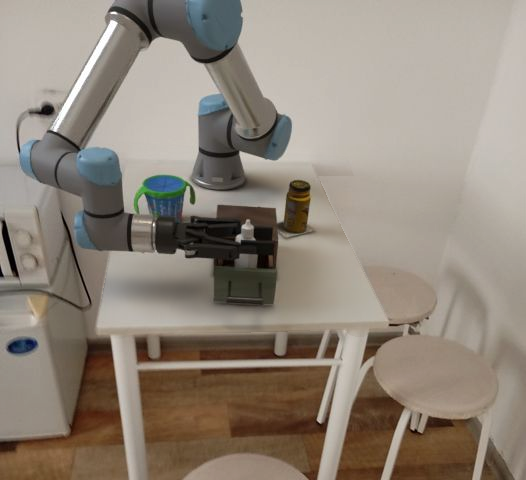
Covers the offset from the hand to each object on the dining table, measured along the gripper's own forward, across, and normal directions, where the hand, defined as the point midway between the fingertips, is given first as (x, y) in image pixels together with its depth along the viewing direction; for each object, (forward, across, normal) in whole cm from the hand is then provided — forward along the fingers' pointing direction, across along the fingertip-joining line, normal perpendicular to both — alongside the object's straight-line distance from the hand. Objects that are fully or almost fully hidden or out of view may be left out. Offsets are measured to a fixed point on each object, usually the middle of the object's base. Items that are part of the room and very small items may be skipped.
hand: (272, 240), depth 112 cm
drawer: (-5, +2, -11) cm, 13 cm away
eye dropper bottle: (-5, 0, -8) cm, 10 cm away
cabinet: (-5, -13, -12) cm, 19 cm away
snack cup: (-25, -30, -12) cm, 41 cm away
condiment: (+7, -30, -12) cm, 33 cm away
